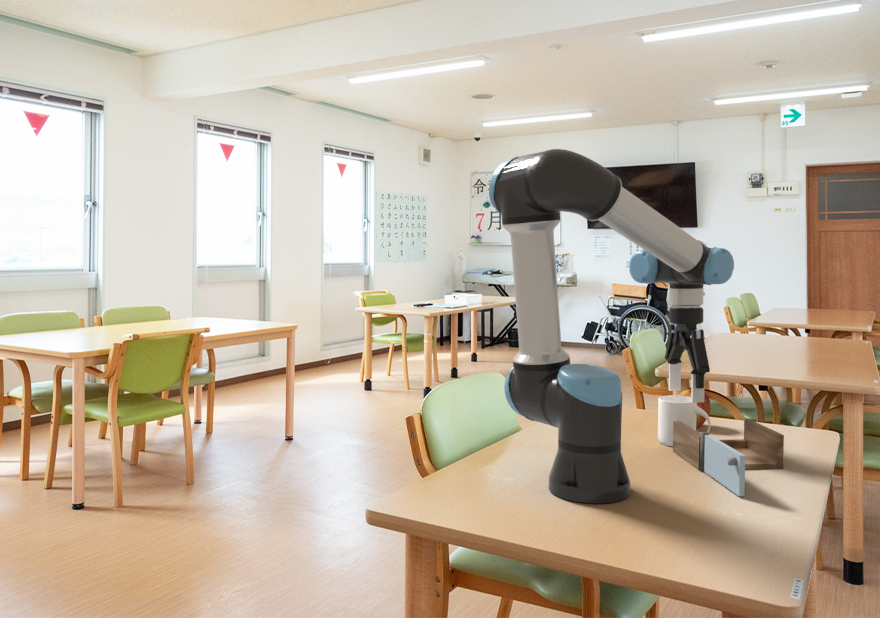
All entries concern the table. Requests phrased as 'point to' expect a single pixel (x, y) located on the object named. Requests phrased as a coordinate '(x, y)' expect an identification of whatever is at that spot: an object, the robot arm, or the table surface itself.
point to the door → (725, 465)
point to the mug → (676, 416)
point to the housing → (732, 445)
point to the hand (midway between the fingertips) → (685, 396)
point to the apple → (703, 405)
